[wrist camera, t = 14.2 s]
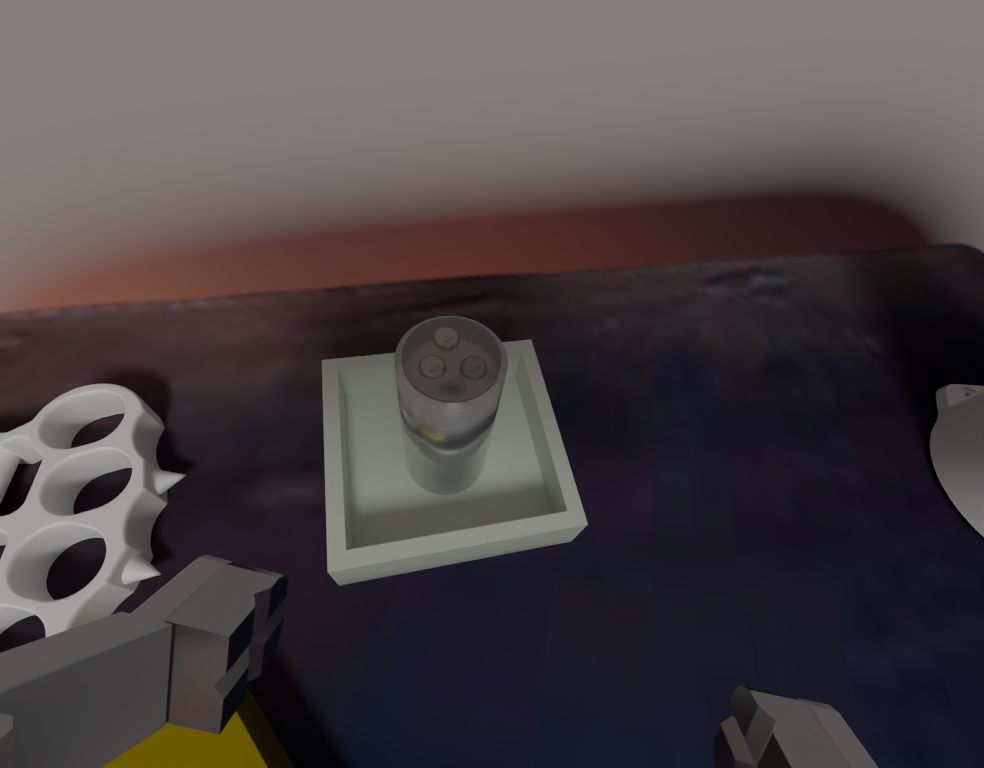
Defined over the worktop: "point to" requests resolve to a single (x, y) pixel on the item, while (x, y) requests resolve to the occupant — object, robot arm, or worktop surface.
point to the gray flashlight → (448, 400)
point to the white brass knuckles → (49, 505)
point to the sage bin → (424, 515)
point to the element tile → (211, 745)
